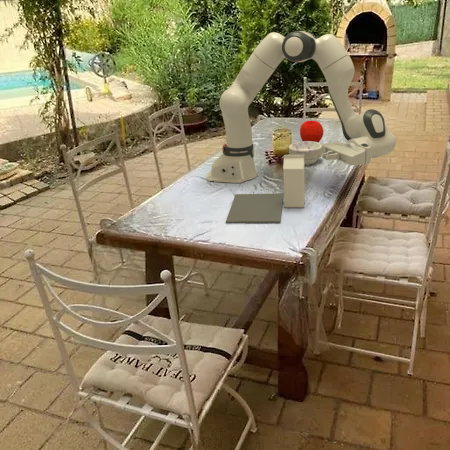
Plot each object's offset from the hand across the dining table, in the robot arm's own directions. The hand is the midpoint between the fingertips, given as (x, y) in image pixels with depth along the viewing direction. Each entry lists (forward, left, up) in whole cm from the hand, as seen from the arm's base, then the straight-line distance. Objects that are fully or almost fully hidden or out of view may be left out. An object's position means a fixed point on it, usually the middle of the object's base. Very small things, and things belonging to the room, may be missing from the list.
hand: (324, 157), depth 176 cm
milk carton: (-11, -6, -16) cm, 20 cm away
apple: (-4, +70, -16) cm, 72 cm away
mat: (-25, -10, -16) cm, 31 cm away
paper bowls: (-7, +45, -16) cm, 48 cm away
